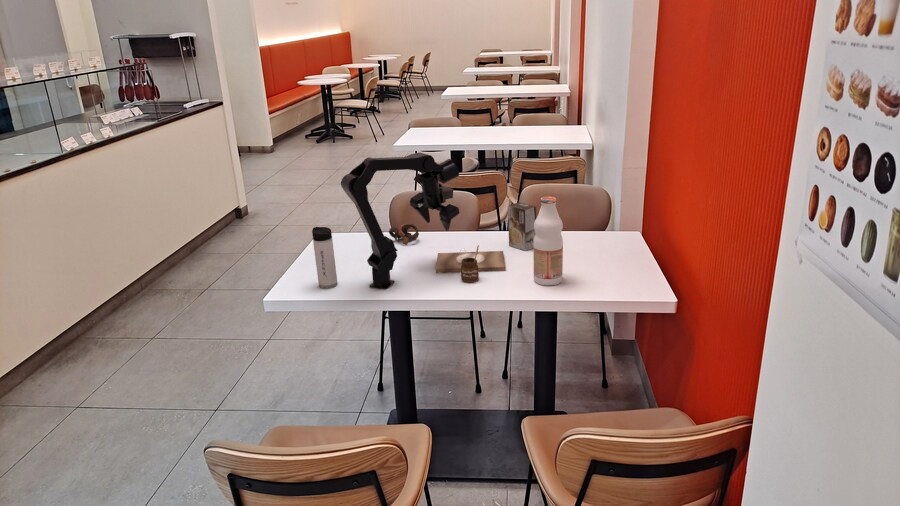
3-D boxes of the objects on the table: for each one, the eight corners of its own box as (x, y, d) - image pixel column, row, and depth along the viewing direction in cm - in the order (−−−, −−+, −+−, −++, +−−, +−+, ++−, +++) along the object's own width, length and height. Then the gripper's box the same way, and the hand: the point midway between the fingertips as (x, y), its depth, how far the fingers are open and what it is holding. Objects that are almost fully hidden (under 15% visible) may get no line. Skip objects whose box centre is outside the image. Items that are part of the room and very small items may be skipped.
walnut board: (503, 254, 234) (503, 249, 233) (505, 270, 218) (505, 265, 218) (438, 256, 235) (437, 251, 234) (435, 273, 220) (435, 267, 219)
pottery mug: (417, 237, 259) (421, 223, 253) (415, 254, 252) (418, 240, 246) (388, 231, 257) (391, 217, 251) (385, 248, 251) (388, 234, 245)
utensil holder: (460, 277, 215) (458, 243, 211) (478, 275, 216) (477, 242, 211) (461, 283, 210) (460, 249, 206) (480, 282, 210) (479, 248, 206)
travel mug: (328, 279, 218) (321, 224, 212) (341, 283, 214) (335, 227, 208) (314, 285, 214) (307, 229, 207) (327, 290, 210) (320, 232, 203)
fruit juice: (531, 285, 206) (531, 202, 196) (535, 274, 214) (535, 194, 205) (560, 287, 203) (562, 202, 194) (563, 276, 212) (565, 194, 202)
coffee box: (537, 247, 240) (537, 206, 234) (525, 251, 236) (525, 209, 230) (519, 241, 246) (518, 201, 241) (507, 246, 242) (507, 205, 237)
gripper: (467, 184, 211) (473, 222, 220) (427, 170, 222) (434, 207, 231) (444, 200, 205) (451, 239, 214) (404, 185, 216) (413, 222, 225)
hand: (437, 226), depth 221 cm, fingers open, 9 cm apart
